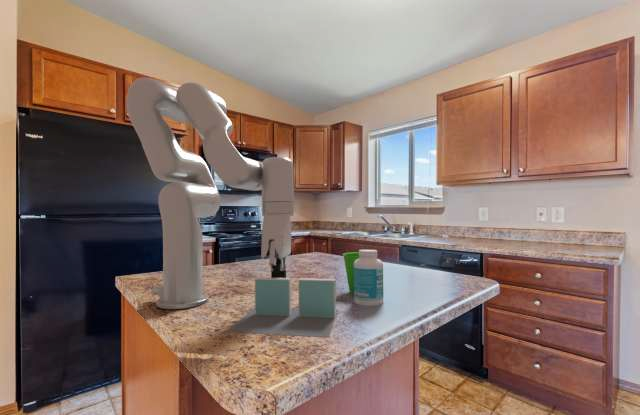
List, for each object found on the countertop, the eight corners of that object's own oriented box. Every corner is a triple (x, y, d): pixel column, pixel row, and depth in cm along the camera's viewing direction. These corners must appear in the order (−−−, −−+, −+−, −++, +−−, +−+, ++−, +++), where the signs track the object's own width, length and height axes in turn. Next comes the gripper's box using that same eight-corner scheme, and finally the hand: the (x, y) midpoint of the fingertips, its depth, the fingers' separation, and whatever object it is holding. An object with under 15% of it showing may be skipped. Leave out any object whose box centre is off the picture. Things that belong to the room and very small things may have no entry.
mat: (225, 334, 59) (225, 331, 59) (255, 309, 75) (255, 306, 75) (328, 340, 56) (328, 337, 56) (338, 312, 72) (337, 309, 72)
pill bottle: (383, 308, 74) (382, 252, 75) (352, 307, 76) (351, 251, 76) (383, 300, 82) (382, 248, 82) (355, 299, 83) (354, 248, 83)
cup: (379, 290, 92) (378, 253, 92) (366, 298, 84) (365, 257, 84) (351, 287, 96) (351, 251, 97) (337, 293, 89) (336, 255, 89)
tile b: (298, 316, 68) (298, 279, 68) (300, 314, 69) (299, 278, 69) (335, 318, 66) (334, 280, 66) (336, 315, 68) (335, 279, 68)
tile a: (254, 314, 69) (254, 278, 69) (257, 312, 71) (257, 277, 71) (289, 316, 68) (289, 279, 68) (291, 313, 69) (291, 278, 70)
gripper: (272, 210, 82) (273, 280, 82) (251, 210, 67) (252, 295, 67) (300, 210, 81) (300, 280, 81) (285, 209, 66) (286, 296, 66)
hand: (278, 287), depth 74 cm, fingers closed
